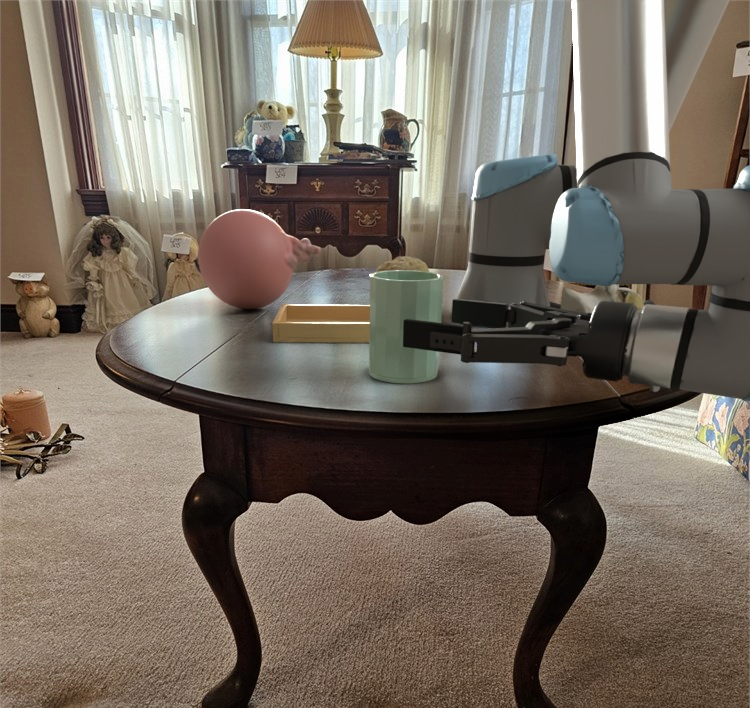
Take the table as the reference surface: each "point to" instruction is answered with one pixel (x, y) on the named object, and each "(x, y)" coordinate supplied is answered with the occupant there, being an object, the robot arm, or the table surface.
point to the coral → (403, 265)
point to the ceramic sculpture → (598, 298)
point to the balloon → (249, 258)
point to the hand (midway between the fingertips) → (430, 320)
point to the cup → (386, 319)
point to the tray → (322, 323)
